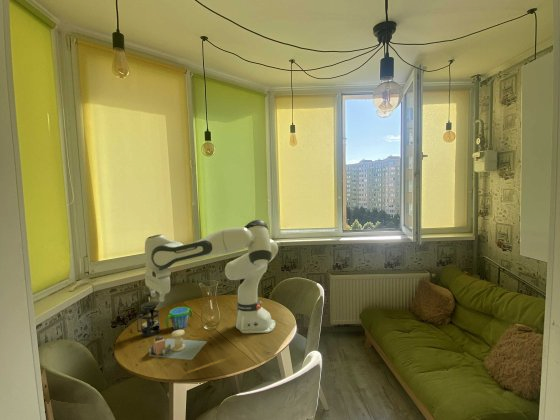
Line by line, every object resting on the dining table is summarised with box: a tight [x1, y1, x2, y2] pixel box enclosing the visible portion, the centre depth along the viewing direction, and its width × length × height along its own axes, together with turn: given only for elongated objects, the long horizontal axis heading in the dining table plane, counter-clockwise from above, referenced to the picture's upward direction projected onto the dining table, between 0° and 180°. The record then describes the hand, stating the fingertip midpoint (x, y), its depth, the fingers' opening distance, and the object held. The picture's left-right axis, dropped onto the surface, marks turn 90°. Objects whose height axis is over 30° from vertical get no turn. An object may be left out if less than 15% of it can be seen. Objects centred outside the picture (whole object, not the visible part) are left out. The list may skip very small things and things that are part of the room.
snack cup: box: [165, 306, 194, 331], centre depth 161 cm, size 16×10×10 cm
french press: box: [136, 292, 161, 338], centre depth 153 cm, size 12×9×23 cm
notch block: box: [148, 344, 171, 356], centre depth 134 cm, size 8×5×3 cm, turn 80°
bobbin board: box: [147, 329, 208, 361], centre depth 137 cm, size 22×16×9 cm
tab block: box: [153, 335, 166, 355], centre depth 134 cm, size 4×4×7 cm
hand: (157, 298), depth 133 cm, fingers open, 8 cm apart
